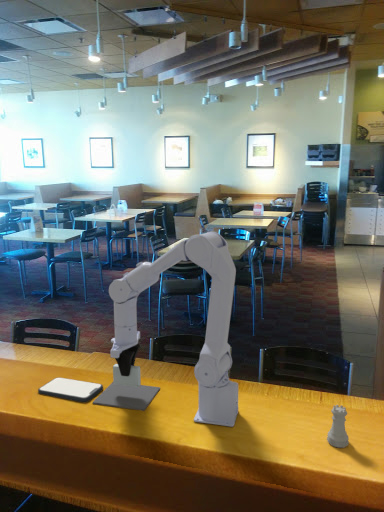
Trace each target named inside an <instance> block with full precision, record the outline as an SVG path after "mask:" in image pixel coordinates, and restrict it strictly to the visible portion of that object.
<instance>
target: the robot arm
mask: <svg viewBox="0 0 384 512" xmlns="http://www.w3.org/2000/svg"><path fill="white" fill-rule="evenodd" d="M181 261H183V262H187V261H190V262H192V263H194V264H195V265H197V266H198V267H200V268H202V269H203V270H204V271H206V272H207V273H208V274H209V276H210V277H211V284H210V293H209V303H208V310H207V320H206V330H205V337H204V339H205V340H204V344H203V346H202V349H201V350H200V352H199V359H198V361H197V363H196V364H195V366H194V368H193V372H194V373H193V374H194V377H195V379H196V381H197V383H198V409H197V411H196V413H195V416H194V417H193V421H194V422H196V423H201V424H202V423H203V424H210V425H219V426H225V427H232V428H233V427H234V426H235V423H236V421H237V420H236V419H237V417H238V414H239V383H238V382H236V381H232V380H230V378H229V370H230V369H231V368H232V365H233V358H232V355H231V345H230V344H229V343H228V341H229V340H228V339H229V331H230V323H231V322H230V321H231V315H232V306H233V299H234V298H233V297H234V292H235V291H234V290H235V283H236V274H237V273H236V272H237V268H236V266H235V262H234V261H233V258H232V254H231V253H230V250H229V243H228V241H227V240H226V239H225V238H224V237H223V236H222V235H221V234H220V233H218V232H217V231H207V232H205V233H204V232H203V233H201V234H193V235H191V236H189V237H188V238H187V239H184V240H182V241H179V243H177V244H175V245H174V246H173V247H171V248H170V249H169V250H168V251H166V252H165V253H163V254H162V255H161V256H159V257H158V258H157V259H155V260H154V261H153V262H150V261H140V262H138V263H136V265H135V266H136V267H135V268H134V269H133V270H131V271H129V272H128V271H127V272H125V273H123V274H122V276H123V277H122V278H119V279H113V281H112V282H111V283H110V284H109V287H108V294H109V297H110V298H111V300H112V301H113V321H114V323H113V324H114V337H112V338H111V339H110V343H113V344H112V346H111V349H110V353H109V355H110V358H114V360H115V361H116V364H118V366H119V370H120V373H121V376H129V375H130V369H131V366H135V363H136V358H137V356H138V352H139V351H140V348H141V344H140V343H139V340H140V339H141V331H139V330H138V324H137V323H138V319H137V318H138V315H137V303H138V297H139V295H140V294H141V293H142V292H143V291H145V290H147V289H148V288H150V287H152V286H153V285H155V284H156V283H157V282H158V281H159V280H160V274H162V273H163V272H165V271H166V270H168V269H170V268H171V267H173V266H175V265H176V264H178V263H180V262H181Z"/></svg>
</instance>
